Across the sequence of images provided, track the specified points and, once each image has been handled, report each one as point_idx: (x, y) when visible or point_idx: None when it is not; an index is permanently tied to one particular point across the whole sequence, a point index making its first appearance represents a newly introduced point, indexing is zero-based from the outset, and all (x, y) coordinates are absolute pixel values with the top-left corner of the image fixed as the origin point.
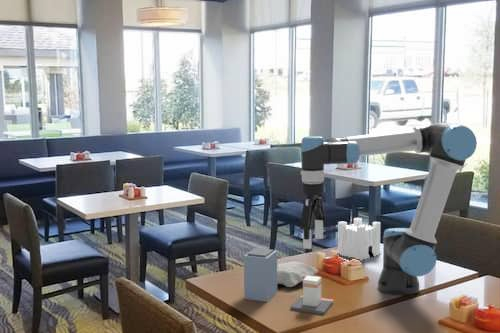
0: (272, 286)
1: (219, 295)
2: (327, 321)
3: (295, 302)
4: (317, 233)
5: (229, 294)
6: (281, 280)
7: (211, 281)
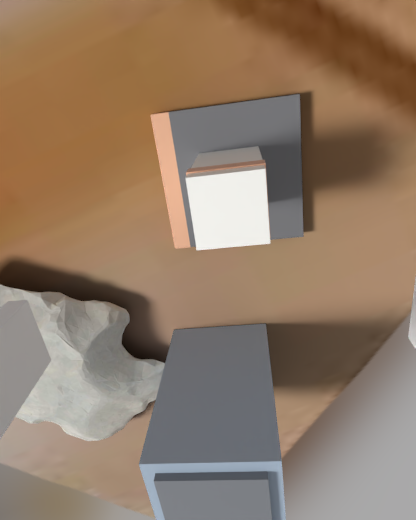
0: (216, 350)
1: None
2: (364, 48)
3: None
4: (18, 375)
5: None
6: (118, 352)
7: None
